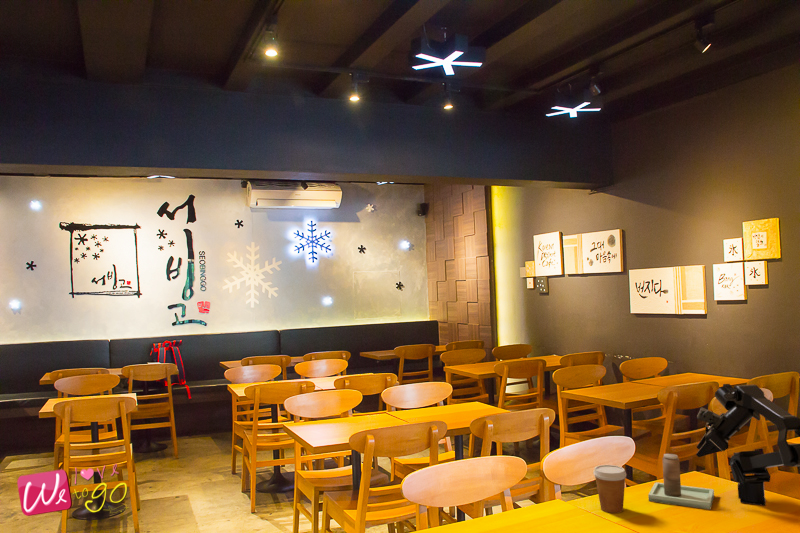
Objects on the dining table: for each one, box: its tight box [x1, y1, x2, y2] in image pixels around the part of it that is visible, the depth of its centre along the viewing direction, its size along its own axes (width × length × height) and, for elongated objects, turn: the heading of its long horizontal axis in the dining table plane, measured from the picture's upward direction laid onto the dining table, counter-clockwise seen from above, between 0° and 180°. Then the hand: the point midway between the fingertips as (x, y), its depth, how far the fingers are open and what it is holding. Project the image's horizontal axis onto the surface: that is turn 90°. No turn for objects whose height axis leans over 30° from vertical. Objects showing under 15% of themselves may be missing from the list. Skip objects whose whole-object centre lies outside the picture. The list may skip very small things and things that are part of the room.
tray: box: [647, 482, 715, 511], centre depth 184 cm, size 17×13×2 cm
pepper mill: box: [662, 453, 681, 497], centre depth 186 cm, size 5×5×12 cm
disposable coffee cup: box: [592, 464, 627, 514], centre depth 178 cm, size 10×10×12 cm
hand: (697, 452), depth 188 cm, fingers open, 9 cm apart
